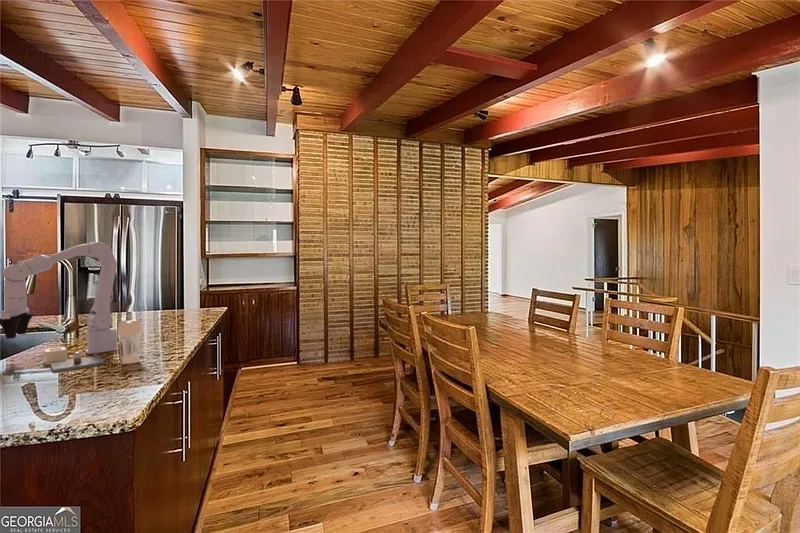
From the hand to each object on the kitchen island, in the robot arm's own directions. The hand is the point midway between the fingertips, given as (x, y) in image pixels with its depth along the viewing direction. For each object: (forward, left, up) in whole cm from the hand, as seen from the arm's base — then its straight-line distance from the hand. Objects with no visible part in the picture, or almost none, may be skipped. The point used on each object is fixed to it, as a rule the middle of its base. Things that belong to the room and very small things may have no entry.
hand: (16, 336), depth 142 cm
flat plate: (-15, +17, -10) cm, 25 cm away
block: (-10, +6, -10) cm, 15 cm away
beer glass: (-29, +25, -10) cm, 39 cm away
